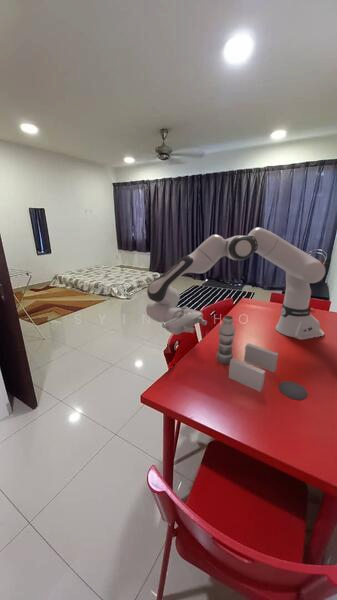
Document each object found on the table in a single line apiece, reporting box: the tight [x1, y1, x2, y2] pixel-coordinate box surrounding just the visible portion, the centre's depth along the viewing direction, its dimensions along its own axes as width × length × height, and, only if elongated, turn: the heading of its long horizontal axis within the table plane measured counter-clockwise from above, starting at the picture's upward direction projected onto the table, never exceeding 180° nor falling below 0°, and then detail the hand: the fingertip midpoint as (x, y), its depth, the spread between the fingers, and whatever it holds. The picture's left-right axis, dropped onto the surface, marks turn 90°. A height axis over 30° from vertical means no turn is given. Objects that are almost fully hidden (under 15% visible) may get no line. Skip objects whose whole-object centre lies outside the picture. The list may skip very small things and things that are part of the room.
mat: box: [278, 380, 309, 401], centre depth 84 cm, size 9×9×1 cm
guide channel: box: [228, 342, 279, 393], centre depth 91 cm, size 12×16×8 cm
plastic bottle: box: [216, 315, 236, 365], centre depth 96 cm, size 6×7×20 cm
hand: (200, 326), depth 103 cm, fingers open, 8 cm apart
